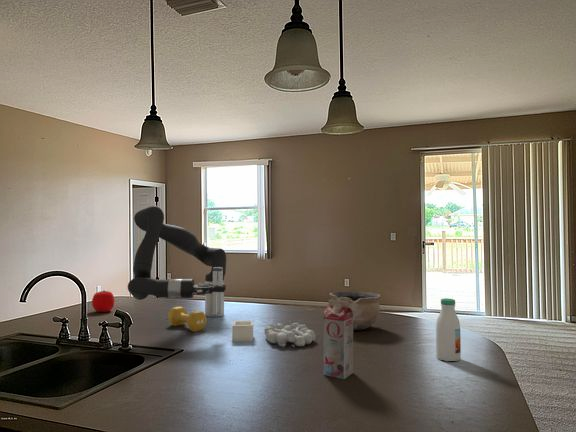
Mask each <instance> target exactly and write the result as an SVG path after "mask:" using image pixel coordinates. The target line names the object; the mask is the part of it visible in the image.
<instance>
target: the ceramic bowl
mask: <svg viewBox="0 0 576 432" xmlns="http://www.w3.org/2000/svg"><path fill="white" fill-rule="evenodd" d="M329 297H330V298H331V299H330V300H335V301H344V302H349V308H350V309H351V310H352V311H353V331H361V330H365V329H366V330H367V329H368V328H370V327H371V326H373V324H374V323H375V322H376V320H377V319H378V317H379V315H380V312H381V307H380V299H381V295H380V294H378V293H375V292H366V291H356V290H355V291H354V290H351V291H350V290H349V291H344V290H343V291H334V292H330V293H329Z"/></svg>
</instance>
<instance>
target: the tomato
mask: <svg viewBox="0 0 576 432" xmlns="http://www.w3.org/2000/svg"><path fill="white" fill-rule="evenodd" d="M91 304H92V307H93V309H94V311H96V312H98V313H99V312H100V313H101V312H102V313H104V312H105V313H107V312H110V311H111V310H112V309H114V306H115V296H114V294H113V293H112V292H111V291H109V290H108V291H107V290H101V291H98V292H95V293H94V294H93V297H92V300H91Z"/></svg>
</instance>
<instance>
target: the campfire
mask: <svg viewBox="0 0 576 432" xmlns="http://www.w3.org/2000/svg"><path fill="white" fill-rule="evenodd" d="M264 335H265V339H266V340H267V342H269V343H272V344H279V345H284V344H286V343H293V344H294V346H297V347H305V345H310V344H311V343H312V342H313V341H315V339H316V333H315V331H314V330H312V329H309V328H308V327H307V325H306V324H300V323H299V322H294V323H292V324H290V325H284V324H283V323H279V322H278V323H277V324H274V323H271V324H269V325H268V326H266V327H265V328H264Z"/></svg>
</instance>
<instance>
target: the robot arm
mask: <svg viewBox="0 0 576 432" xmlns="http://www.w3.org/2000/svg"><path fill="white" fill-rule="evenodd" d="M133 220H134V224H135V225H136V226H137V227H138V228H139V229H141V230H142V231H144V232H145V234H144V237H143V238H142V241H141V242H140V244H139V246H138V248H137V250H136V253H135V255H134V261H133V266H132V269H133V270H132V272H133V275H134V278H132V279H131V280H129V282H128V284H127V290H128V292H129V294H131V295H132V297H133V298H134V299H136V300H139V301H140V300H141V301H142V300H145V299H146V298H147V297H148V296H149V295H150V296H153V297H156V298H170V299H171V298H172V299H194V296H195V293H196V294H197V295H204V299H205V300H204V301H205V302H204V314H205V316H206V317H209V318H217V317H218V318H219V317H223V316H224V315H225V292H226V287H227V286H226V284H225V276H226V274H227V272H226V271H227V254H226V251H225V250H224V249H223V248H221V247H209V246H206V245H204V244H202V243H201V242H200V241H199V239H198V238H197V236H196V235H195V234H194V233H192V232H191V231H189V230H187V229H186V228H185V227H182V226H178V225H172V224H169V223H168V224H167V223H165V222H164V221H165V214H164V212H163V209H162V208H161V207H160V206H158V205H152V206H148V207H146V208H143V209H140V210H138V211H137V212H135V214H134V217H133ZM159 239H161V240H163V241H165V242H167V243H169V244H170V245H172V246H173V247H175V248H177V249H179V250H181V251H183V252H185V253H186V254H188V255H191V256H193V257H194V258H196V259H197V260H199V261H200V262H201V263H202V264H204V265H205V266H207V267H211V270H210V272H209V273H206V275H205V277H204V278H205V282H198V284H195V280H194V279H193V278H175V279H174V278H173V279H156V278H152V277H151V276H152V275H151V273H152V269H153V268H152V267H153V261H154V260H153V259H154V255H155V250H156V247H157V243H158V240H159ZM214 267H223V286H218V271H217V286H213V268H214ZM215 292H217V314H216V315H212V310H213V293H215ZM218 292H222V314H221V315H218Z"/></svg>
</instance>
